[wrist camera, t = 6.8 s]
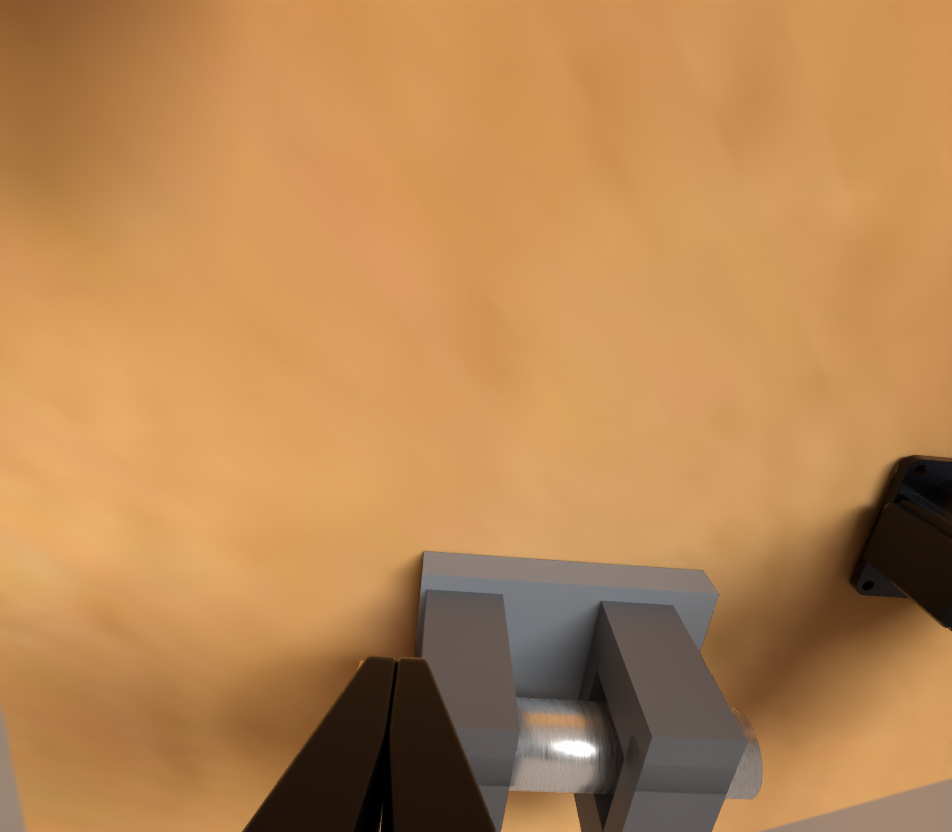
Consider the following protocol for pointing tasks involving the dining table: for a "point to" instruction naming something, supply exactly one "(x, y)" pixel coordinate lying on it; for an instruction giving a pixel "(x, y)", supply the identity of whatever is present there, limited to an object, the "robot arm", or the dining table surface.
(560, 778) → the shaft
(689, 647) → the bearing bracket
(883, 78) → the dining table surface
